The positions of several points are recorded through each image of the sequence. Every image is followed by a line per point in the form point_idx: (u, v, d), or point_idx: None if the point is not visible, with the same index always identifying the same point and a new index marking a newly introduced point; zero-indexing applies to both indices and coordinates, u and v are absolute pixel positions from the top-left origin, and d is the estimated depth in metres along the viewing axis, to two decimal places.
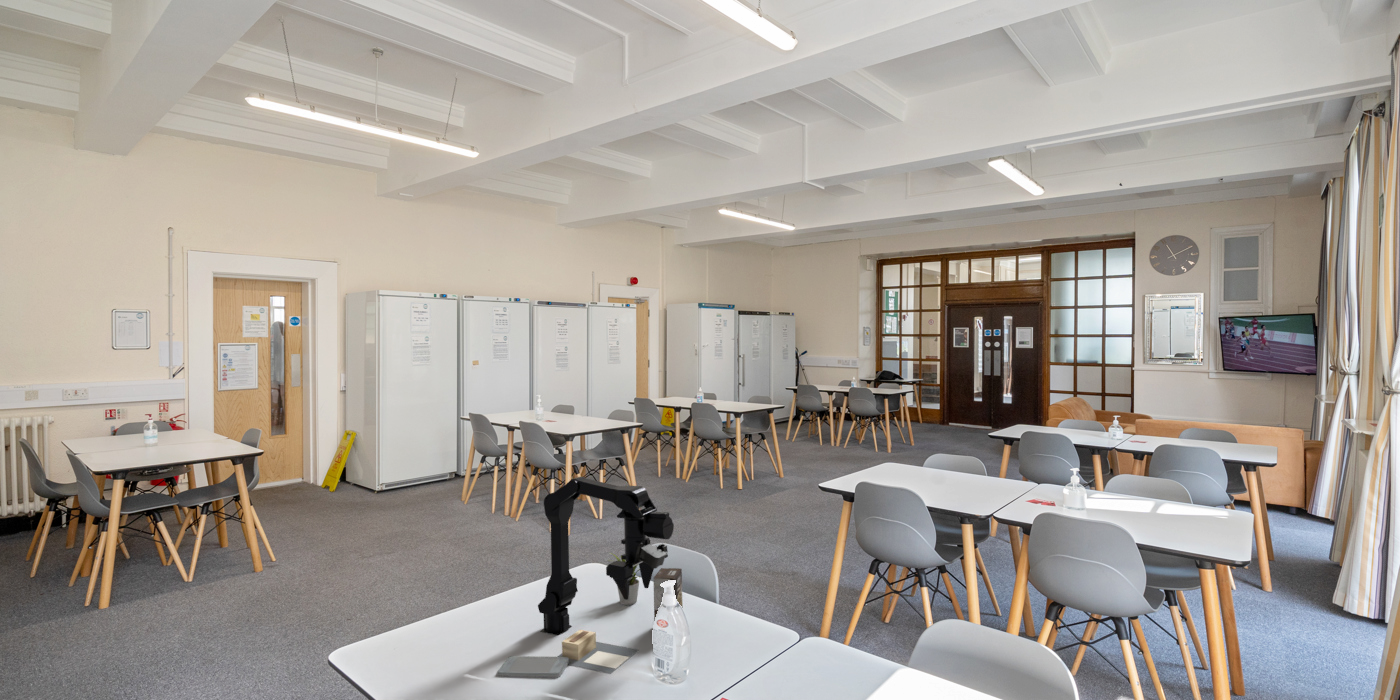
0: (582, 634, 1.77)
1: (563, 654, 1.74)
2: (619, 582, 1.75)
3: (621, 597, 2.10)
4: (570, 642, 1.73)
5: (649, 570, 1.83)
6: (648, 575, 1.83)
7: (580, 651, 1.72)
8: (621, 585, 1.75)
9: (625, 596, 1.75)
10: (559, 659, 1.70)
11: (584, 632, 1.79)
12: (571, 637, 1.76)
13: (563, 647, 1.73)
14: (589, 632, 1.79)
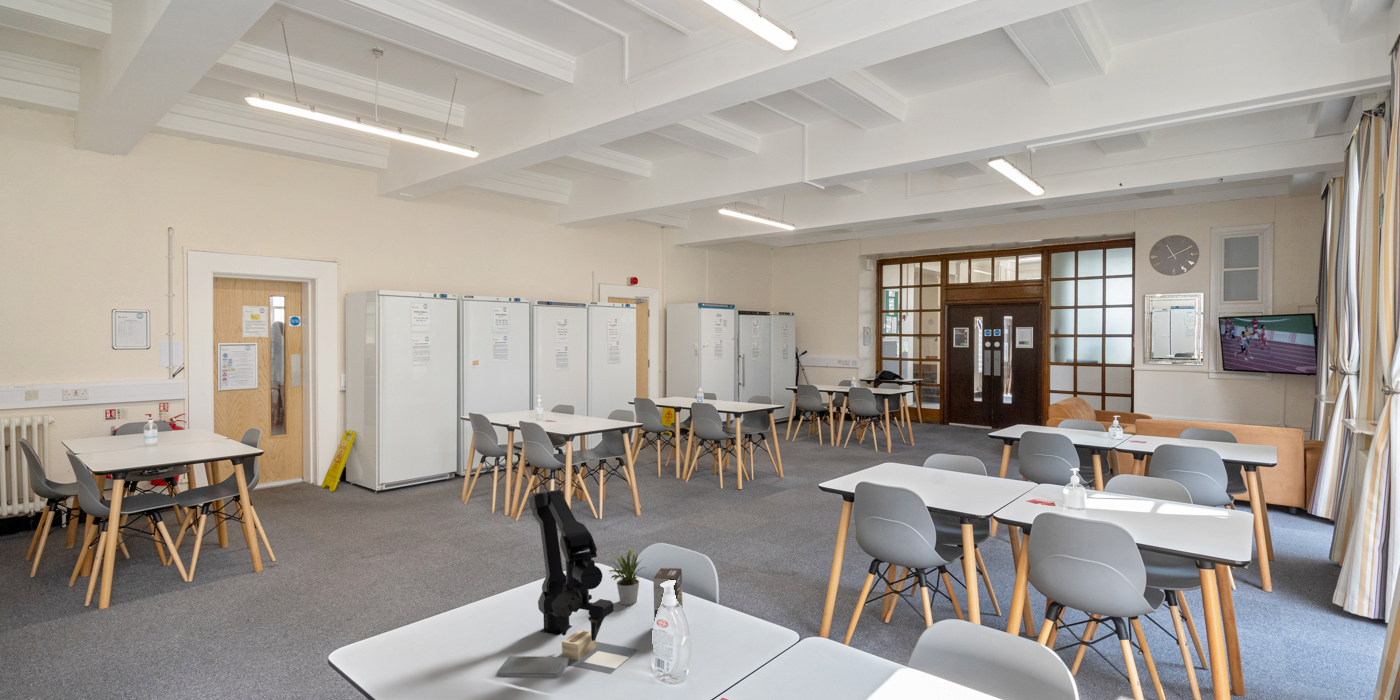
0: (582, 634, 1.77)
1: (563, 654, 1.74)
2: None
3: (621, 597, 2.10)
4: (570, 642, 1.73)
5: None
6: None
7: (580, 651, 1.72)
8: None
9: None
10: (559, 659, 1.70)
11: (584, 632, 1.79)
12: (571, 637, 1.76)
13: (563, 647, 1.73)
14: (589, 632, 1.79)
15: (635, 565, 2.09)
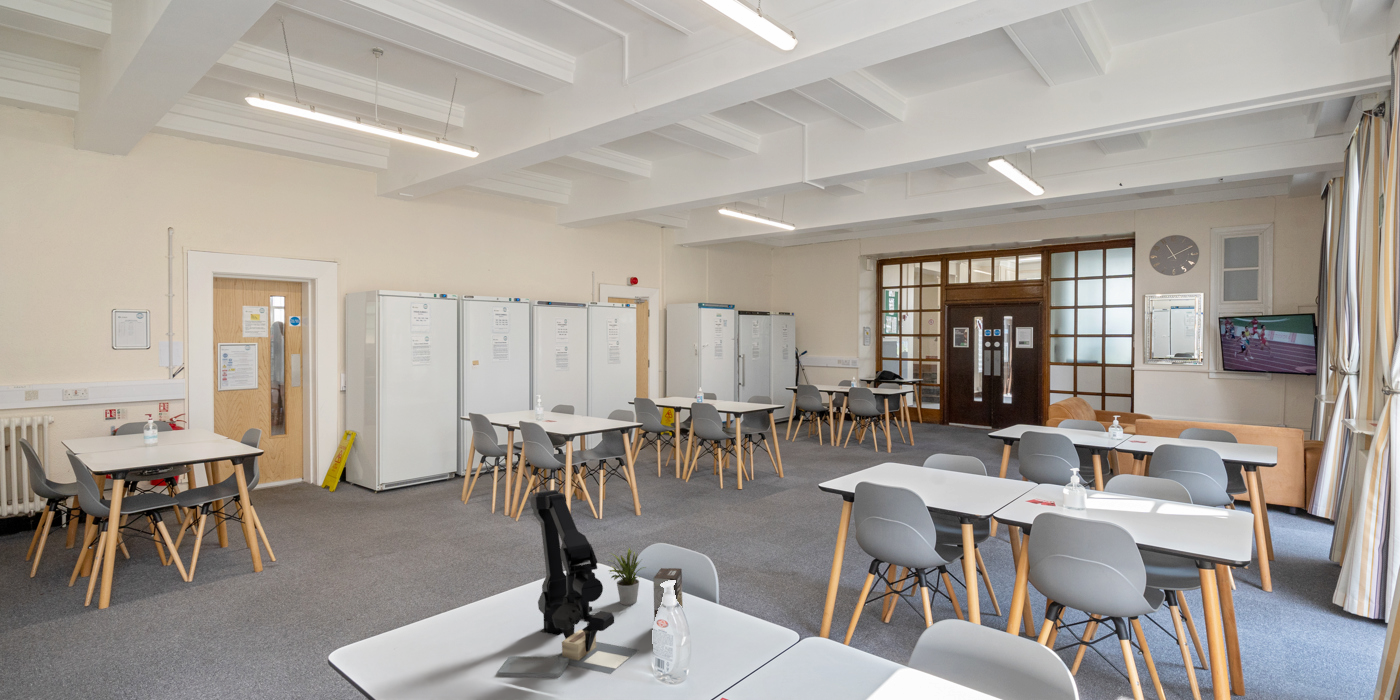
0: (582, 634, 1.77)
1: (563, 654, 1.74)
2: None
3: (621, 597, 2.10)
4: (570, 642, 1.73)
5: None
6: None
7: (580, 651, 1.72)
8: None
9: None
10: (559, 659, 1.70)
11: (584, 632, 1.79)
12: (571, 637, 1.76)
13: (563, 647, 1.73)
14: None
15: (635, 565, 2.09)
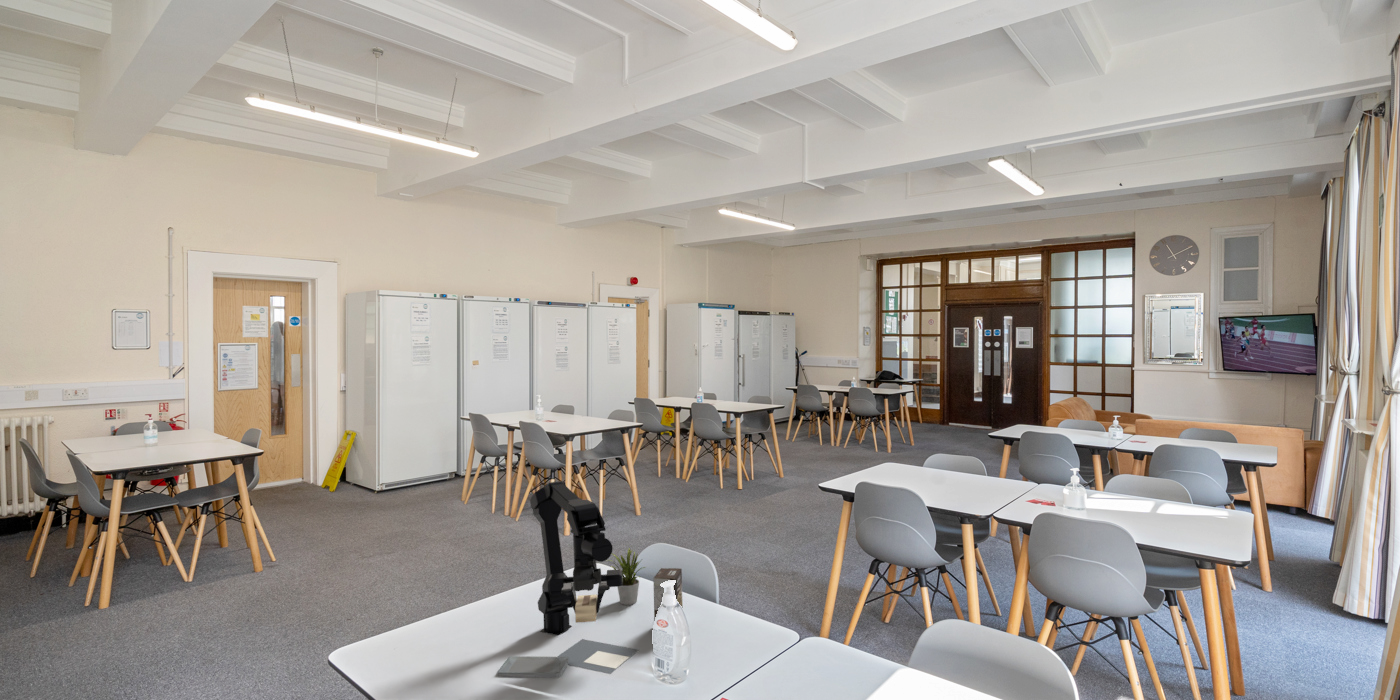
0: (587, 598, 1.76)
1: (577, 619, 1.70)
2: None
3: (621, 597, 2.10)
4: (584, 605, 1.71)
5: (598, 594, 1.74)
6: (597, 599, 1.74)
7: (595, 612, 1.72)
8: None
9: (574, 610, 1.74)
10: (559, 659, 1.70)
11: (587, 596, 1.77)
12: (579, 602, 1.73)
13: (577, 612, 1.70)
14: (591, 595, 1.78)
15: (635, 565, 2.09)
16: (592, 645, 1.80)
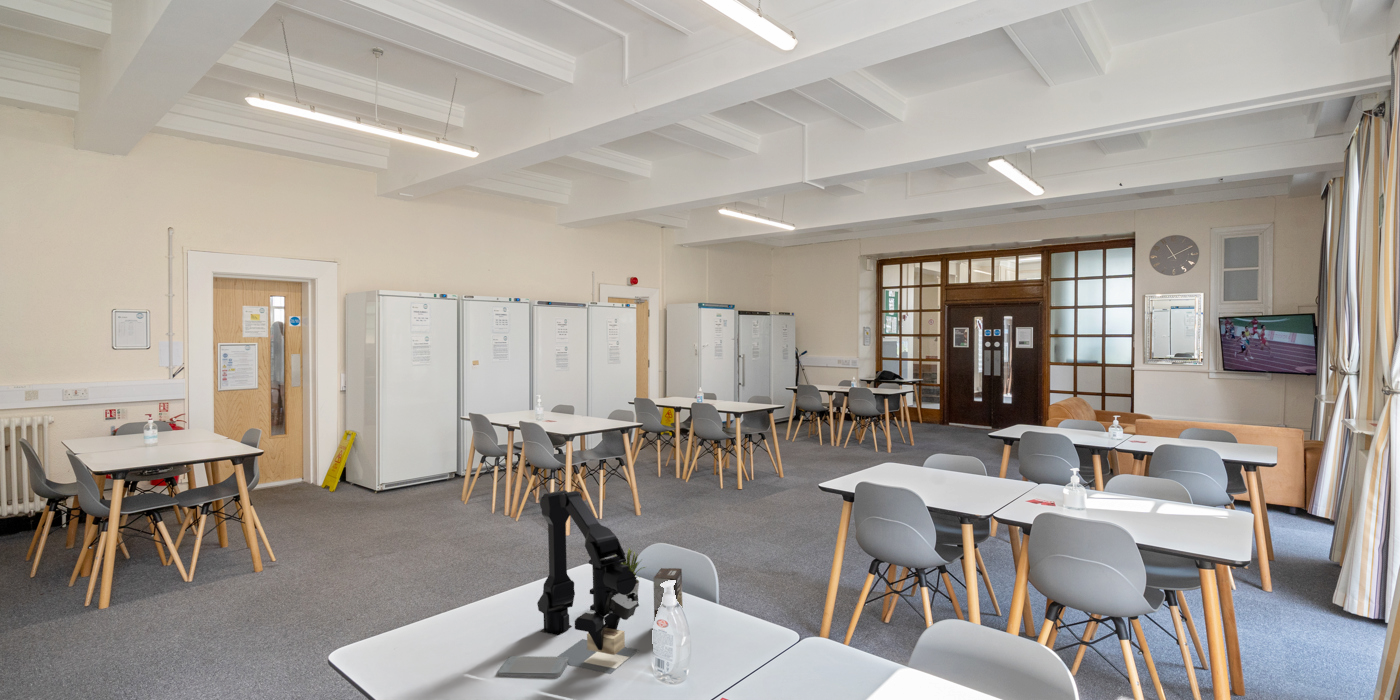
0: None
1: (615, 651, 1.68)
2: (593, 632, 1.68)
3: None
4: (617, 634, 1.70)
5: (615, 622, 1.74)
6: (613, 627, 1.74)
7: None
8: (595, 636, 1.68)
9: (599, 646, 1.69)
10: (559, 659, 1.70)
11: None
12: (605, 635, 1.70)
13: (614, 643, 1.68)
14: None
15: (635, 565, 2.09)
16: None
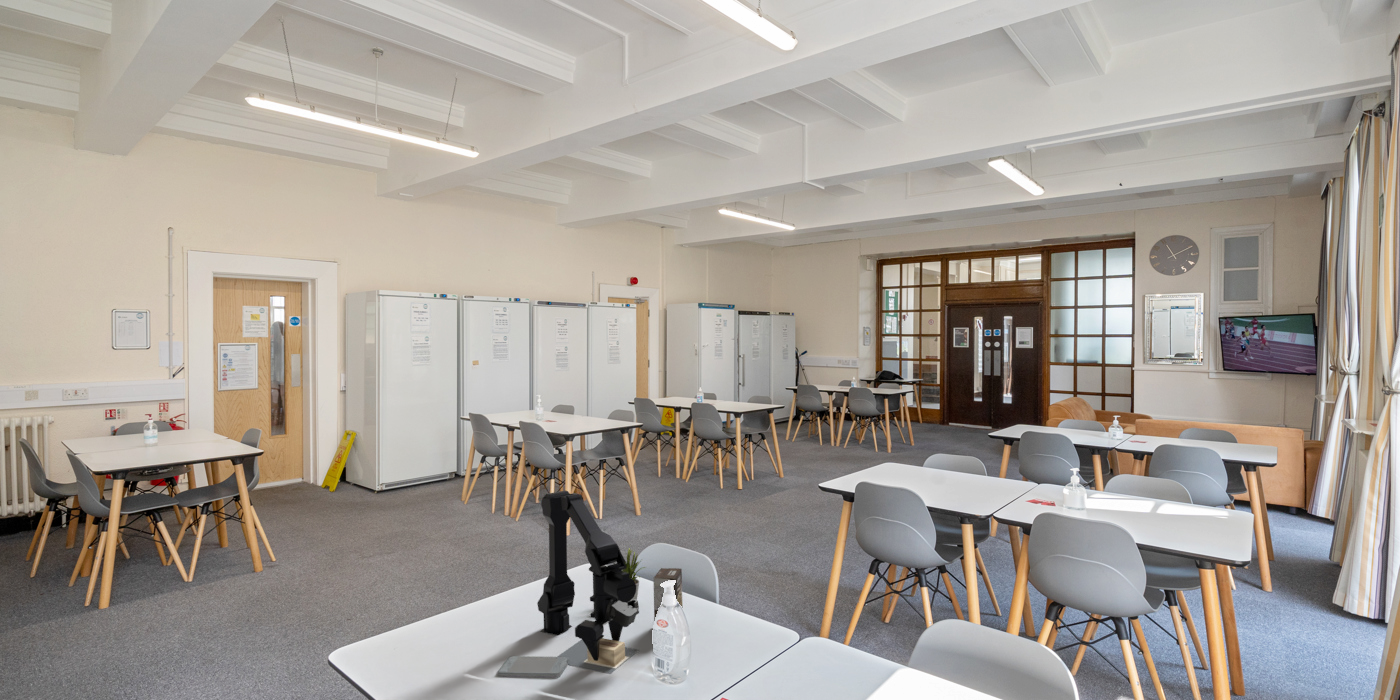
0: (602, 642, 1.72)
1: (615, 662, 1.68)
2: (588, 643, 1.67)
3: None
4: (617, 646, 1.70)
5: (619, 626, 1.76)
6: (618, 632, 1.75)
7: None
8: (591, 646, 1.67)
9: (595, 657, 1.67)
10: (559, 659, 1.70)
11: None
12: (605, 647, 1.70)
13: (615, 655, 1.68)
14: None
15: (635, 565, 2.09)
16: None
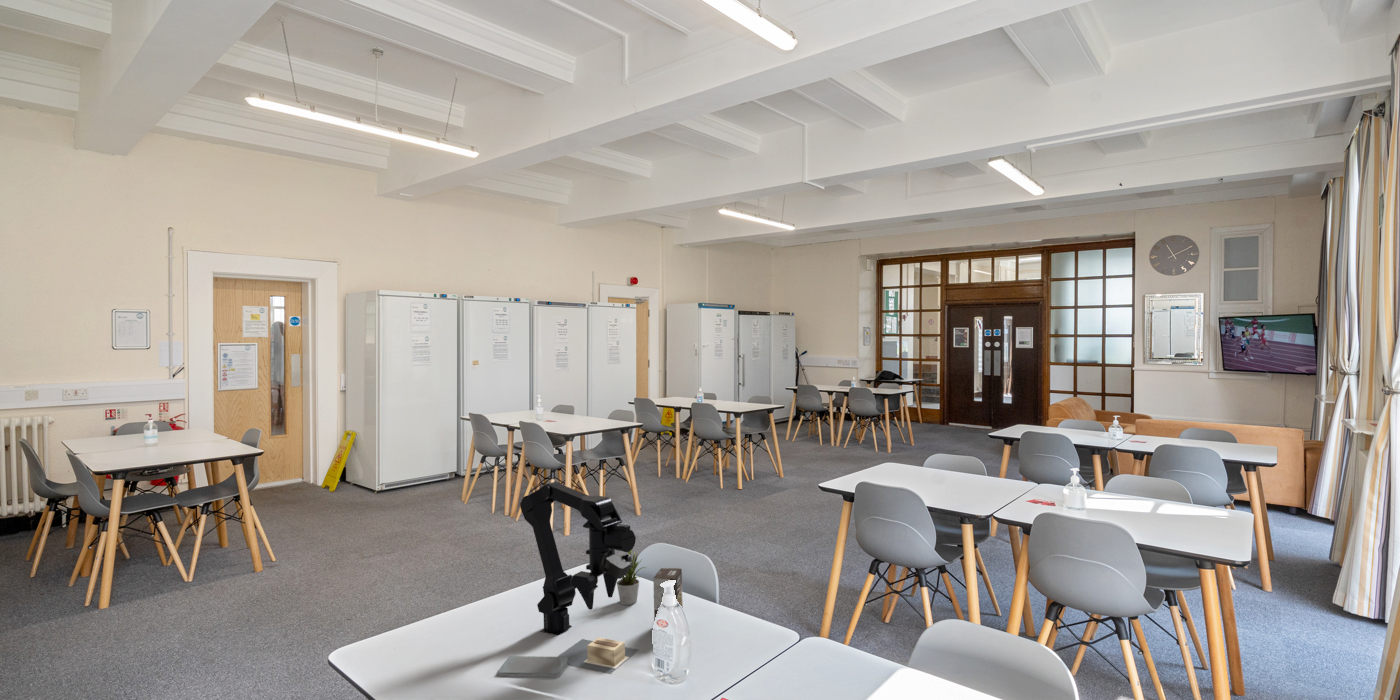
0: (602, 642, 1.72)
1: (615, 662, 1.68)
2: (583, 592, 1.77)
3: (621, 597, 2.10)
4: (617, 646, 1.70)
5: (613, 579, 1.86)
6: (612, 584, 1.85)
7: None
8: (585, 596, 1.77)
9: (589, 606, 1.77)
10: (559, 659, 1.70)
11: (597, 641, 1.73)
12: (605, 647, 1.70)
13: (615, 655, 1.68)
14: (597, 640, 1.74)
15: (635, 565, 2.09)
16: None
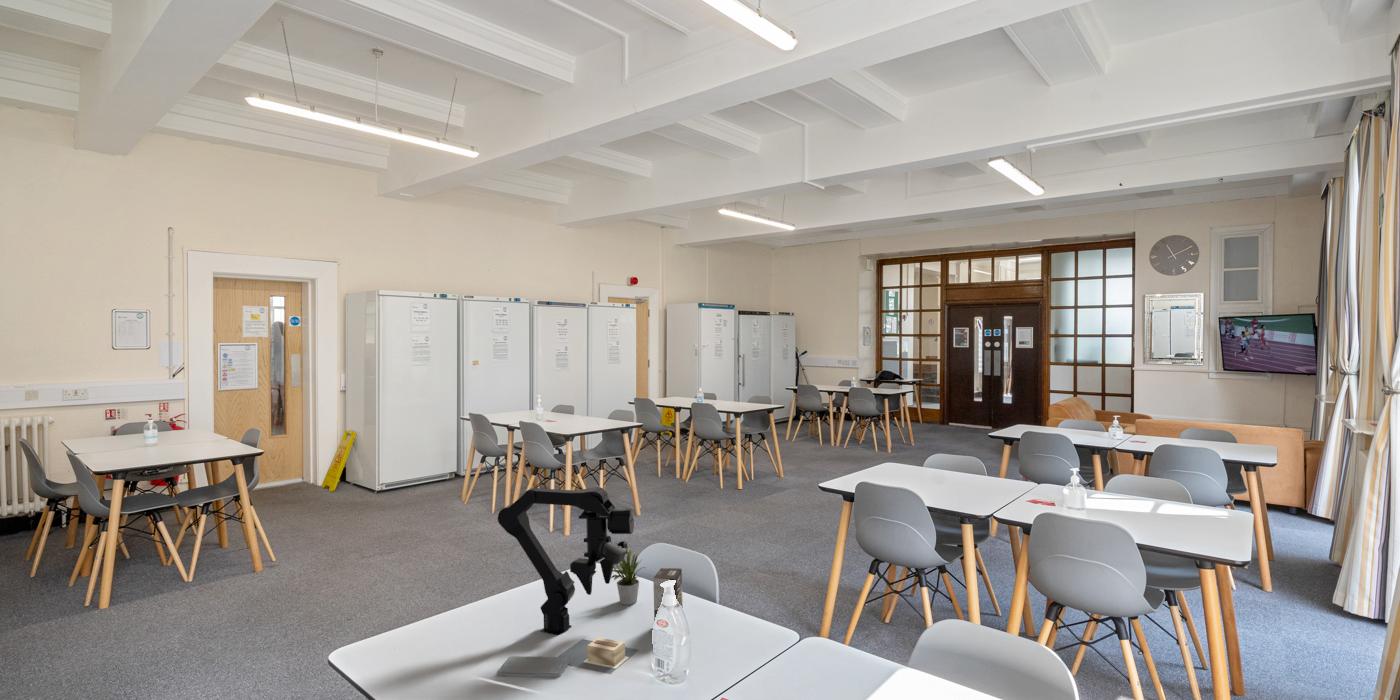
0: (602, 642, 1.72)
1: (615, 662, 1.68)
2: (582, 578, 1.85)
3: (621, 597, 2.10)
4: (617, 646, 1.70)
5: (610, 566, 1.94)
6: (609, 571, 1.94)
7: None
8: (584, 581, 1.85)
9: (588, 591, 1.86)
10: (559, 659, 1.70)
11: (597, 641, 1.73)
12: (605, 647, 1.70)
13: (615, 655, 1.68)
14: (597, 640, 1.74)
15: (635, 565, 2.09)
16: None
